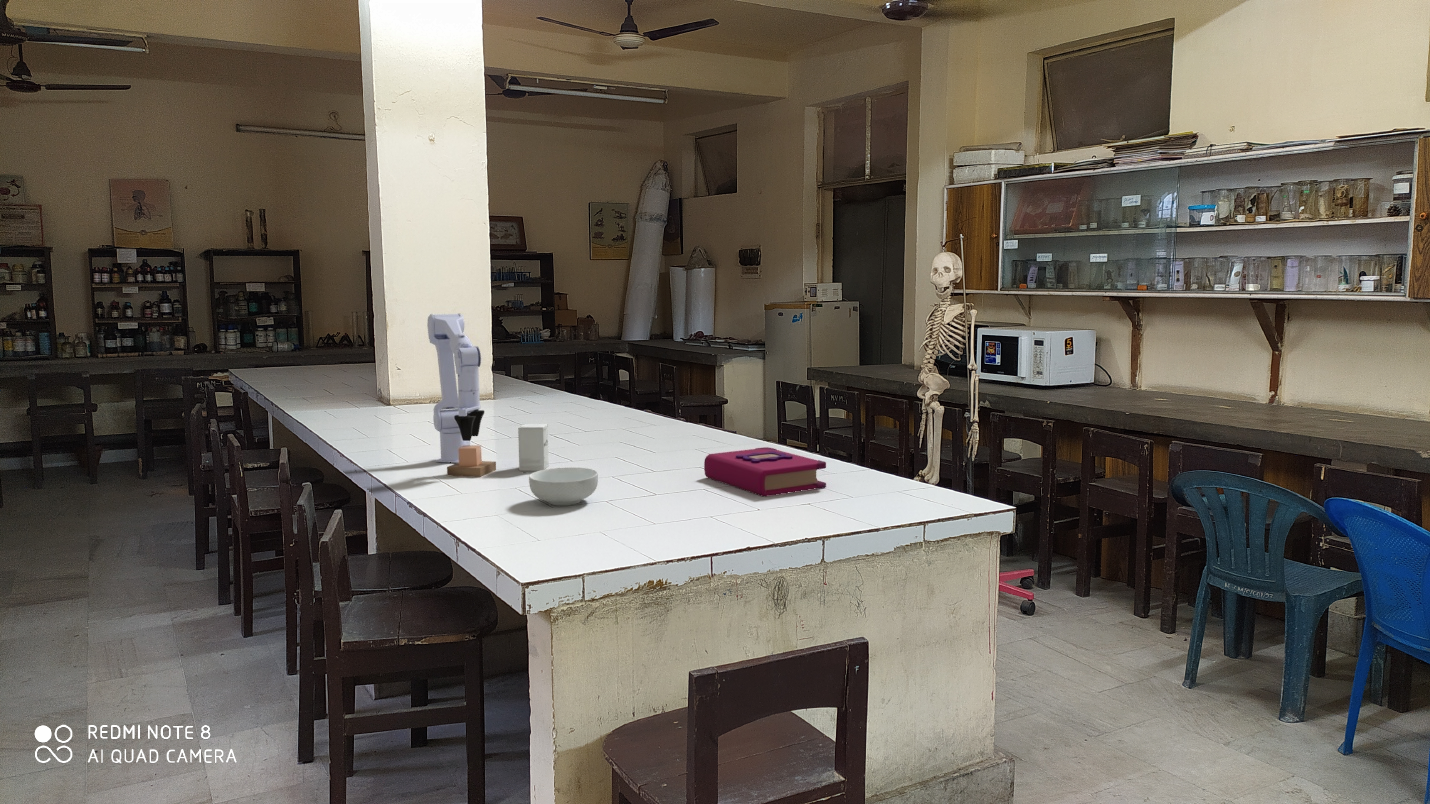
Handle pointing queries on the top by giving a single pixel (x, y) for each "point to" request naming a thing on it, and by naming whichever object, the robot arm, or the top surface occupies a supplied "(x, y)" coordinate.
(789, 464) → the book
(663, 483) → the top surface
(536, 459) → the supplement box
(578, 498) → the cereal bowl
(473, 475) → the walnut slab
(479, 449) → the terracotta cube
